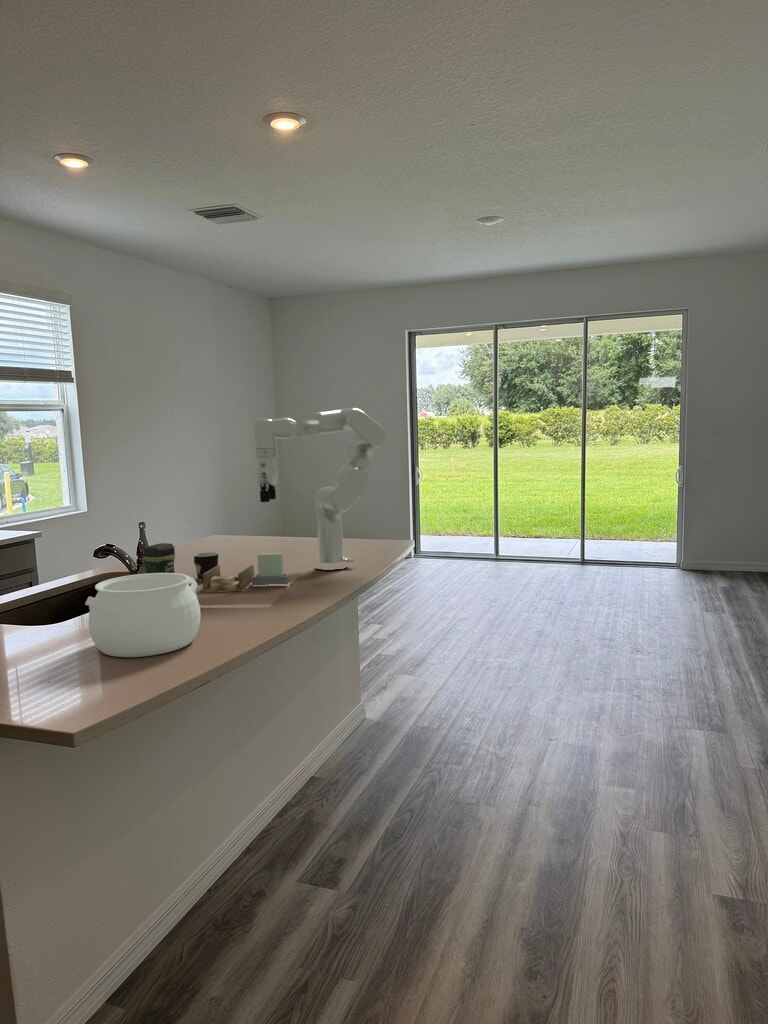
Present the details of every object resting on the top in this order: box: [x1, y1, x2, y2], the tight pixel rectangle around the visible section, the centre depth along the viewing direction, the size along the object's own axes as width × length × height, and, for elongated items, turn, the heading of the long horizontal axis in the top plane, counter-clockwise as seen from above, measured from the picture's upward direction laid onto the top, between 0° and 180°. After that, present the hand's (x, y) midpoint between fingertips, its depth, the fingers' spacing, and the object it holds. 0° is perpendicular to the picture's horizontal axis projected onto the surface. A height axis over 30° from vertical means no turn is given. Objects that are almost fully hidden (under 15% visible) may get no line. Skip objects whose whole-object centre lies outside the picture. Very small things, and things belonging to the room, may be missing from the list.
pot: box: [84, 573, 201, 658], centre depth 174 cm, size 29×26×16 cm
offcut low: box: [211, 582, 239, 588], centre depth 233 cm, size 9×4×2 cm, turn 85°
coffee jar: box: [143, 542, 176, 574], centre depth 221 cm, size 10×8×19 cm
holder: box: [251, 573, 291, 586], centre depth 237 cm, size 12×6×4 cm, turn 85°
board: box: [257, 552, 284, 577], centre depth 236 cm, size 8×2×11 cm, turn 85°
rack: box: [202, 564, 255, 593], centre depth 236 cm, size 13×15×7 cm
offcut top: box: [211, 575, 236, 585], centre depth 232 cm, size 7×4×2 cm, turn 90°
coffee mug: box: [193, 551, 219, 580], centre depth 252 cm, size 12×9×10 cm
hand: (268, 500), depth 254 cm, fingers open, 9 cm apart
